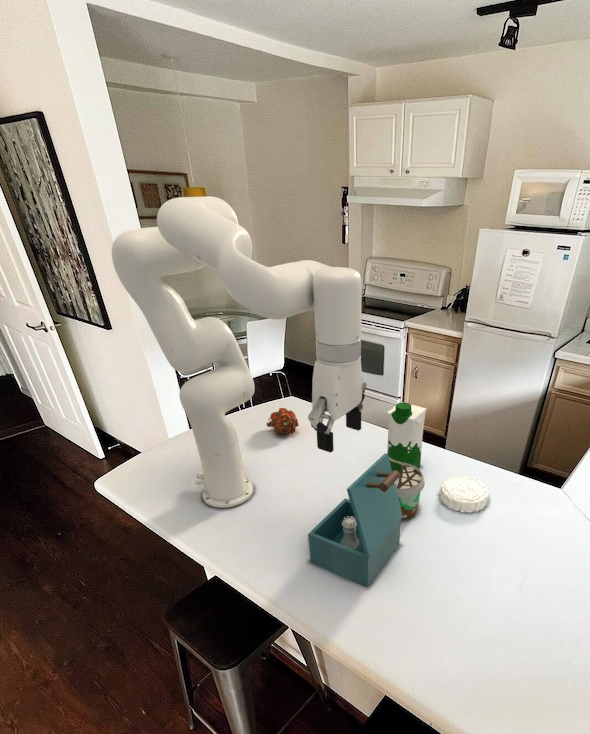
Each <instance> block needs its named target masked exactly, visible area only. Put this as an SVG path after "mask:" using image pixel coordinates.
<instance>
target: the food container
mask: <svg viewBox="0 0 590 734" xmlns="http://www.w3.org/2000/svg"><path fill="white" fill-rule="evenodd" d="M397 481H398V482H397V484H396V485H397V486H396V490H397V495H398V499H399V503H400V507H401V512H402V516H403V517H402V518H401V521H407V520H411V519H412V518H414V517H415V516H416V515H417V513H418V508H419V503H420V497H421V492H422V491H423V490H424V488H425V484H426V483H425V477H424V475H423V472H422V471H421V470H420V468H417V467H415V466H413V465H411V464H408V463H402V470H401V474H400V477H399V478H398V480H397Z"/></svg>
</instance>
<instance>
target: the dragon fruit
mask: <svg viewBox="0 0 590 734" xmlns="http://www.w3.org/2000/svg"><path fill="white" fill-rule="evenodd" d="M267 421H268V422H266V427H268V428H274V429H273V430H274V433H276V434H282V435H286V436H287V435H291V434H294V433H295V432H296V428H298V427H299V426H300V425H299V420H298V418H297V416H296V414H295V412H294V411H293V410H288V409H287V408H285V407H279V408H278V411H273V412H271V414H270V416H269V418H268V420H267Z"/></svg>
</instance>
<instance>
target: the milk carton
mask: <svg viewBox="0 0 590 734" xmlns="http://www.w3.org/2000/svg"><path fill="white" fill-rule="evenodd" d="M426 414H427V407H422V406H419V405H414V404H410V403H409V402H403V401H401V402H398V403H396V405H394V406H393V407H391V409H389V410H388V411H387V412H386V415H387V423H388V424H387V447H386V449H387V452H386V454H388V456H389V461H390V465H391V469H392V471H393V470H396V471H398V472H399V473H400V474H401V470H402V463H408V464H411V465H413V466H415V467H417V468H418V469H420V467H421V459H422V448H423V438H424V437H423V435H424V424H425V419H426Z"/></svg>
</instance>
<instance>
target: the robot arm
mask: <svg viewBox="0 0 590 734" xmlns="http://www.w3.org/2000/svg"><path fill="white" fill-rule="evenodd" d="M252 256H253V241H252V238H251V236H250V233H249V232H248V230H247V229H245V227H243V226H242V225H240V224H239V220H238V216H237V214H236V212H235V211H234V209H233V207H232V206H230V204H229V203H228V202H227V201H225V200H224V199H222V198H219V197H216V196H210V195H208V196H207V195H206V196H181V197H180V196H179V197H174V198H171V199H168V200H167V201H165V202H164V203H163V204H162V205H160V208H159V209H158V211H157V215H156V226H150V227H149V226H148V227H139V228H133V229H129V230H127V231H124V232H122V233H120V234H118V235H117V236H116V237H115V238H114V240H113V242H112V246H111V259H112V264H113V268H114V271H115V274H116V275H117V277H118V280H119V282H120V283H121V285H122V286H123V288H124V289H125V291H126V293H128V295H129V296H130V298H131V299H132V300H133V301H134V303H135V304H136V306H138V308H139V309H140V311H141V312H142V314H143V316H144V318H145V319H146V322H147V324H148V327H149V328H150V330H151V332H152V333H153V336H154V338H155V339H156V342H157V344H158V345H159V347H160V350H161V351H162V353H163V355H164V358H165V359H166V360H167V362H168V363H169V365H170V366H171V368H172V369H174V370H175V371H177V372H178V373H179V372H180V373H188V372H191V371H195V370H198V369H201V368H203V367H206V366H209V365H211V364H213V365H214V367H215V368H214V369H211V370H208V371H206V372H204V373H201V374H199V375H196V376H194V377H192V378H190V379H189V380H187V381H186V382H185V383H183V384H182V385H181V388H180V390H179V394H178V395H179V401H180V404H181V407H182V408H183V410H184V412H185V415H186V417H187V419H188V421H189V424H190V427H191V430H192V433H193V437H194V441H195V445H196V449H197V452H198V456H199V460H200V464H201V469H202V471H198V472H196V475H195V476H196V477H195V478H196V479H195V480H194V483H195V485H198V486H202V487H203V490H202V492H201V493H202V494H201V495H202V499H203V501H204V503H205V504H207V505H208V506H210V507H213V508H219V509H220V508H221V509H226V508H232V507H236V506H239V505H241V504H243V503H246V502H247V501H248V500H249V499H250V498H251V497H252V495H253V493H254V484H253V483H252V481H250V479H248V478H246V475H245V470H244V464H243V459H242V454H241V453H242V452H241V447H240V443H239V438H238V437H239V436H238V433H237V429H236V427H235V425H234V424H233V423H232V422H231V421H230V420H229V419H228V418H227V417H226V413H229V411H231V410H233V409H235V408H237V407H239V406H241V405H243V404H245V403H246V402H248V401H250V400H251V399H252V398H253V396H254V394H255V381H254V378H253V375H252V373H251V371H250V368H249V366H248V364H247V361H246V358H245V356H244V355H243V352H242V350H241V347H240V345H239V343H238V341H237V339H236V336H235V335H234V333H233V331H232V330H231V328H230V327H229V326H228V325H227V324H226V323H225V322H224V321H223V320H222V319H220V318H218V317H214V316H205V317H201V318H198V319H194V318H193V316H192V315H191V313H190V311H189V310H188V307H187V305H186V302H185V301H184V299H183V298H182V296H181V295H180V294H179V293H178V292H177V291H176V290H175V289H174V288H173V287H171V286H170V285H169V284H167V283H166V282H164V281H163V280H162V278H163V277H169V276H174V275H180V274H185V273H191V272H195V271H198V270H201V269H203V268H204V267H207V268H209V269H210V270H212V271H214V272H216V273H218V276H219V279H220V281H221V284H222V285H223V287H224V289H225V291H226V292H227V293H228V295H229V296H230V297H231V298H232V299H233V300H234V301H235V302H236V303H238V304H240V305H241V306H243V307H244V308H246V309H248V310H250V311H252V312H253V313H255V314H257V315H259V316H262V317H263V318H266V319H270V320H276V321H277V320H284V319H287V318H290V317H293V316H295V315H298V314H301V313H306V312H309V311H314V312H313V313H314V314H313V315H314V332H315V333H314V334H315V355H316V360H315V361H314V366H313V372H312V383H311V384H312V386H311V387H312V388H311V390H312V391H311V407H312V409H311V411H310V412H309V414H307V415H308V416H307V419H308V421H309V423H310V426H311V427H312V428H313V430H314V431H316V446H317V449H318V450H321V451H323V452H327V453H333V452H334V448H335V447H334V432H333V431H332V429H333V426H334V423H335V421H337V420H339V419H340V418H342V417H343V416H345V427H346V428H348V429H351V430H355V431H361V430H362V411H363V408H364V405H363V402H364V399H365V397H366V396H365V395H366V394H365V393H366V389H367V382H364V381H363V372H362V360H361V359H362V300H363V299H362V296H363V295H362V294H363V291H362V289H363V288H362V287H363V284H362V282H363V281H362V276H361V274H360V272H358V271H357V270H356V269H354V268H351V267H345V266H344V267H343V266H330V265H327V264H324V263H321V262H319V261H316V260H312V259H303V260H297V261H293V262H286V263H281V264H277V265H273V266H266V265H263V264H261V263H259V262H257V261H255V260H253V259H252ZM326 413H328V414H326ZM324 419H326V420H327V423H326V424H324V423H323V422H324Z"/></svg>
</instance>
